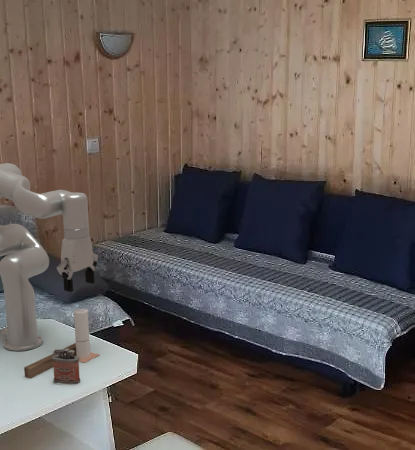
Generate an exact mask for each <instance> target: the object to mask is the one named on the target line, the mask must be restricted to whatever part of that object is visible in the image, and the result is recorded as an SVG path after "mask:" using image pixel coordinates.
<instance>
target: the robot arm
mask: <svg viewBox="0 0 415 450" xmlns="http://www.w3.org/2000/svg"><path fill="white" fill-rule="evenodd" d="M2 198H5V199H8V200H10V201H12V202H13V204H14V206H15V207H16V208H17V210H18V211H20V212H21V213H23V214H26V215H27V216H31V217H32V218H36V219H48V218H51V217H56V216H60V215H62V222H63V235H64V236H63V237H64V238H62V242H61V250H60V251H61V253H60V263H59V265H57V266H56V270H57V272H58V275H59V276H60V277H61V279H63V290H64V291H65V292H69V293H72V292H74V283H73V279H72V276H73V274H74V273H76V272H78V271H82V270H84V269H85V271H84V273H85V275H84V276H85V283H88V284H92V285H93V284H95V271H96V267H97V264H98V261H99V260H98V259H99V255H98V253H97V254H96V253H94V250H93V243H92V239H91V235H90V229H91V228H90V222H89V205H88V204H89V203H88V197H87V195H86V193H84V192H72V191H68V190H65V189H57V190H52V191H47V192H42V193H37V192H34V191H31V183H30V180H29V179H28V178H27V177H26V176H24V175H23V174H22V171H21V169H20V168H19V166H17V165H15V164H14V163H10V162H6V163H0V199H2ZM3 256H4V257H3ZM0 257H2V259H1V260H0V278H1V282H2V287H3V293H4V294H3V295H4V303H5V317H6V318H5V319H6V327H5V328H4V330H2V331H1V335H3V336H5V337H6V339H5V340H4V341H3V348H5V349H6V350H9V351H15V352H17V351H18V352H19V351H20V352H21V351H28V350H33V349H35V348H38V347H39V346H41V345H42V344H43V343H44V341H43V340H44V339H43V337H42V336H41V335H38V325H37V324H38V323H37V310H36V308H37V307H36V298H35V297H36V296H35V290H34V287H33V285H32V284H31V283H30V281H29V279H30V278H32V277H35V276H37V275H40V274H42V273H44V272H45V271H46V270H47V269H48V268H49V265H50V257H49V255H48V253H47V251H46V250H45V249H44V247H43V245H41V244H40V243H39V241H38V240H37V239H36V238H35V237H34V235H33V234H32V233H31V232H30V231H29V230H28V229H27V228H26V227H25V226H23V225H22V224H20V223H10V224H4V225H1V224H0Z"/></svg>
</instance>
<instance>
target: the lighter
mask: <svg viewBox="0 0 415 450" xmlns="http://www.w3.org/2000/svg"><path fill="white" fill-rule="evenodd" d="M65 348H66V347H65ZM63 349H64V348H55V349H54V350H53V353H54V354H59V355H55V356H53V357H52V360H53V368H52V369H53V383H55V384H62V385H78V384H80V383H81V378H80V364H79V363H80V362H79V357H77V356H74V354H75V351H74V350H69V349H68V348H66V349H65V350H63ZM61 354H62V355H61Z"/></svg>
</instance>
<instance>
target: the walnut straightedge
mask: <svg viewBox="0 0 415 450" xmlns="http://www.w3.org/2000/svg"><path fill="white" fill-rule="evenodd" d="M66 348H68V349H69V350H74V351H75V354H74V356H76V342H73V343H72V344H70V345H68V346H65V347H64V348H62V349H63V350H65V349H66ZM55 355H59V354H54V352H53V353H51V354H49V355H47V356H45V357H43V358H41V359H38V360H36V361H35V362H31V363H30V364H28V365H26V366H24V367H23V370H24V377H25V378H27V379H33V378H35V377H36V376H38V375H40V374H43V373H44V372H47V371H48V370H50V369H54V368H53V360H52V357H53V356H55ZM61 355H62V354H61Z"/></svg>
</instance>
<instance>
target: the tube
mask: <svg viewBox="0 0 415 450" xmlns="http://www.w3.org/2000/svg"><path fill="white" fill-rule="evenodd" d="M73 318H74V319H73V321H74V336H75V343H76V356H77V357H79V358H80V359H84V358H88V357H90V352H91V348H90V347H91V346H90V330H89V329H90V328H89V327H90V326H89V325H90V324H89V310H88V309H87V308H78V309H75V310H74V311H73Z"/></svg>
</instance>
